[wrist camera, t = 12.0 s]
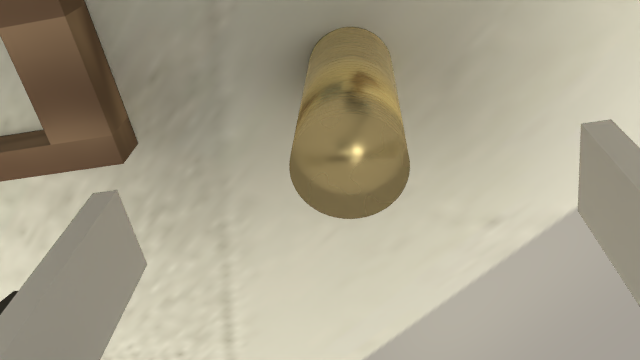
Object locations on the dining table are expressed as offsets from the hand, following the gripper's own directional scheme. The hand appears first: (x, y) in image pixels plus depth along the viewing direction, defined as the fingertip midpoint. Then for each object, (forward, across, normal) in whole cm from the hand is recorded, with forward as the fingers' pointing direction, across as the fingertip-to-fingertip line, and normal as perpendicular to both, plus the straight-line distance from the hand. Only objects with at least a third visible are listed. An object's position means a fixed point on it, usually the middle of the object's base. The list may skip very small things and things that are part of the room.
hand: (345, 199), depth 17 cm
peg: (+10, 0, 0) cm, 10 cm away
